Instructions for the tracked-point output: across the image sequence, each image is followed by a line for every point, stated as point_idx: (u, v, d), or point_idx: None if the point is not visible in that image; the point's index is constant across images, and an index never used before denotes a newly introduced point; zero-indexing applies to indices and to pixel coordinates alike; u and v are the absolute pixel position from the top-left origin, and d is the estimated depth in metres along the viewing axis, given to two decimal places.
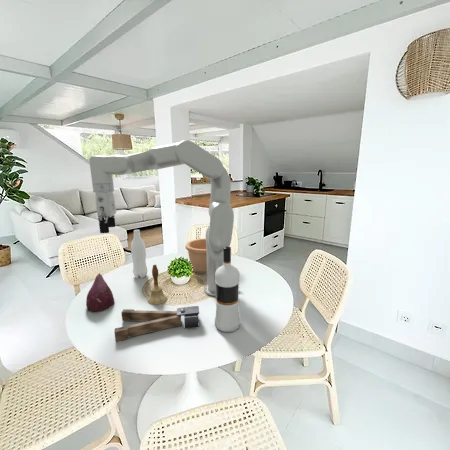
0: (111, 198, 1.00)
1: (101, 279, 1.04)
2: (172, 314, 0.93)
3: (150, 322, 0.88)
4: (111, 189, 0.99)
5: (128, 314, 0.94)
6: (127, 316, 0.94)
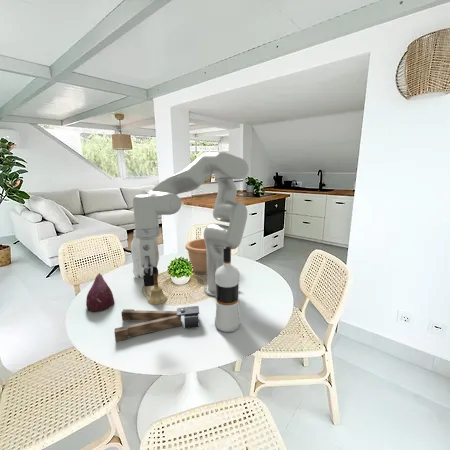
0: (156, 244, 0.84)
1: (101, 279, 1.04)
2: (172, 314, 0.93)
3: (150, 322, 0.88)
4: (157, 234, 0.83)
5: (128, 314, 0.94)
6: (127, 316, 0.94)
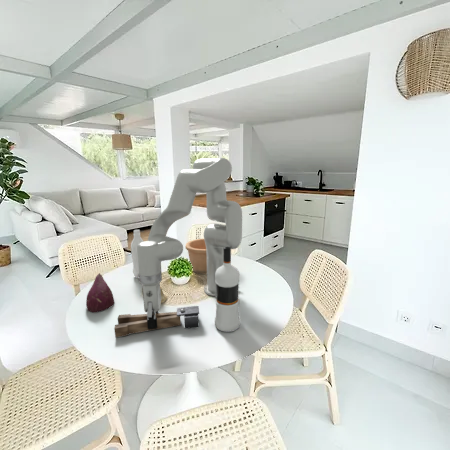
0: (159, 288, 0.88)
1: (101, 279, 1.04)
2: (172, 315, 0.92)
3: None
4: (160, 279, 0.86)
5: (125, 319, 0.91)
6: (124, 321, 0.91)
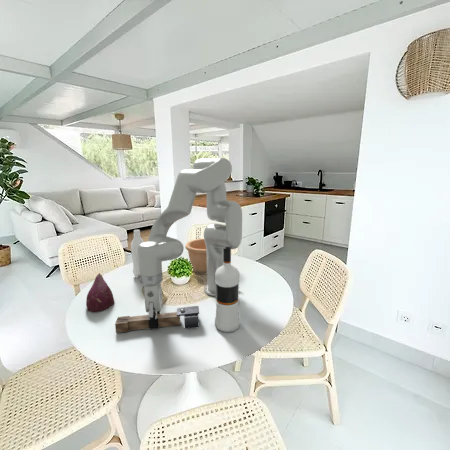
0: (160, 288, 0.88)
1: (101, 279, 1.04)
2: None
3: None
4: (161, 279, 0.87)
5: None
6: None
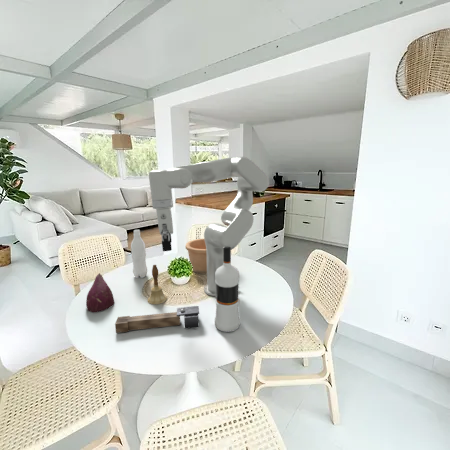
0: (171, 214, 0.95)
1: (101, 279, 1.04)
2: None
3: (149, 318, 0.90)
4: (171, 204, 0.94)
5: None
6: None
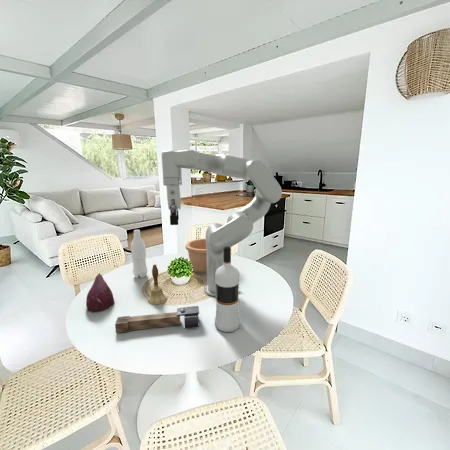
0: None
1: (101, 279, 1.04)
2: None
3: (149, 318, 0.90)
4: (180, 182, 1.03)
5: None
6: None
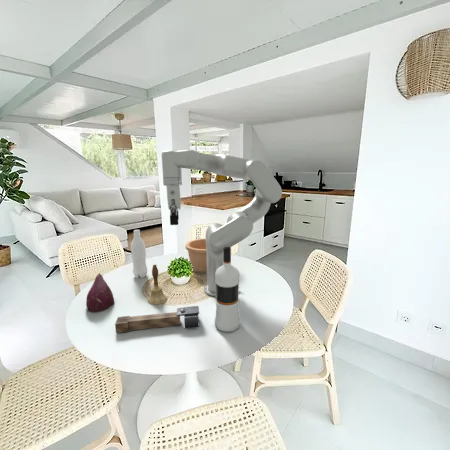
0: None
1: (101, 279, 1.04)
2: None
3: (149, 318, 0.90)
4: (180, 182, 1.03)
5: None
6: None
